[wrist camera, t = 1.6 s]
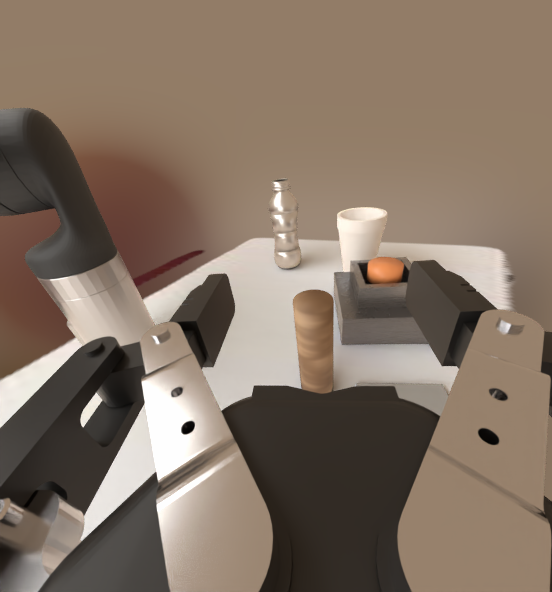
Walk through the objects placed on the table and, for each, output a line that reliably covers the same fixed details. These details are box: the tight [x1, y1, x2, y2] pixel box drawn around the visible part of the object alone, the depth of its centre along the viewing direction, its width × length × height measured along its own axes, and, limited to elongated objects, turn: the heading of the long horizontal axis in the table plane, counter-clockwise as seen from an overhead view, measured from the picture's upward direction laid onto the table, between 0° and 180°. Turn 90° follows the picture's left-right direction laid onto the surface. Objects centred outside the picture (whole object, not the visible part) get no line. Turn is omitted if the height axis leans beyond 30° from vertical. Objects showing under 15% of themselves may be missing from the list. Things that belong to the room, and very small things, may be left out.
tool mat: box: [356, 383, 448, 416], centre depth 27 cm, size 10×9×1 cm
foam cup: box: [337, 207, 387, 272], centre depth 53 cm, size 10×9×13 cm
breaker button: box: [367, 257, 404, 284], centre depth 38 cm, size 5×5×2 cm
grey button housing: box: [334, 257, 429, 344], centre depth 41 cm, size 14×14×8 cm
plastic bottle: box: [269, 179, 301, 269], centre depth 58 cm, size 6×7×20 cm
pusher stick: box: [293, 290, 334, 394], centre depth 29 cm, size 4×4×14 cm
